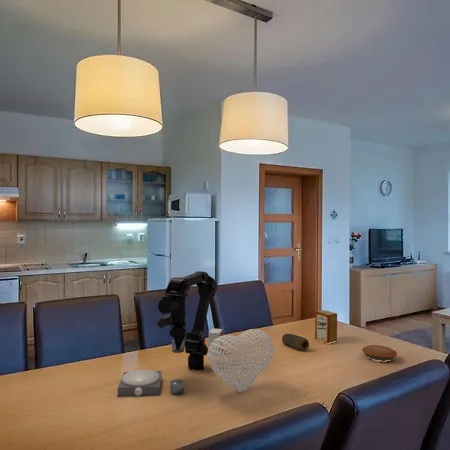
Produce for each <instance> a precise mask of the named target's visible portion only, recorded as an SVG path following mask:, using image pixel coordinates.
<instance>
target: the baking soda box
mask: <svg viewBox="0 0 450 450" xmlns="http://www.w3.org/2000/svg"><path fill="white" fill-rule="evenodd" d="M314 316H315V321H314V324H315V326H314V328H315V329H314V340H315V339H318V340H321V341H324V342H327V343H329V342H333V341H337V340H338V313H337V312H333V311H330V310H326V309H323V310H316V311H315V315H314ZM337 342H338V341H337Z"/></svg>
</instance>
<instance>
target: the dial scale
mask: <svg viewBox="0 0 450 450" xmlns="http://www.w3.org/2000/svg"><path fill="white" fill-rule="evenodd" d="M162 377H163V375H162V371H161V370H160V371H157V370H156V371H155V370H152V369H136V370H132V371H124V372H123V373H122V376H121V378H120V381H119V384H118V386H117V397H124V396H125V397H127V396H128V397H129V396H136V397H139V396H158V395H159V396H160V392H161V385H162Z"/></svg>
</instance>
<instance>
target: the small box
mask: <svg viewBox="0 0 450 450" xmlns="http://www.w3.org/2000/svg"><path fill="white" fill-rule="evenodd" d="M223 333H224V329H221V328H211V330H210V331H209V332H208V347H209V346H210V344H211V343H212V341H213V340H214V339H216V338H218V337H219V336H224V334H223ZM215 342H216V341H215ZM215 342H214V343H215ZM218 342H219V341H217V343H218ZM220 343H221V341H220ZM219 345H220V344H219ZM221 345H222V344H221ZM221 345H220V346H221ZM223 345H224V344H223ZM223 345H222V346H223ZM214 347H215V346H214ZM217 347H218V346H217ZM223 347H224V346H223ZM214 349H215V348H213V350H214ZM220 349H221V348H219V349H218V352H220ZM223 350H224V349H223V348H222V350H221V352H223ZM215 351H217V348H216V350H215ZM209 352H211V351H210V350H209ZM210 354H211V353H210ZM215 354H216V352H215ZM218 355H219V353H218ZM216 356H217V354H216ZM219 356H220V355H219Z"/></svg>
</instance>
